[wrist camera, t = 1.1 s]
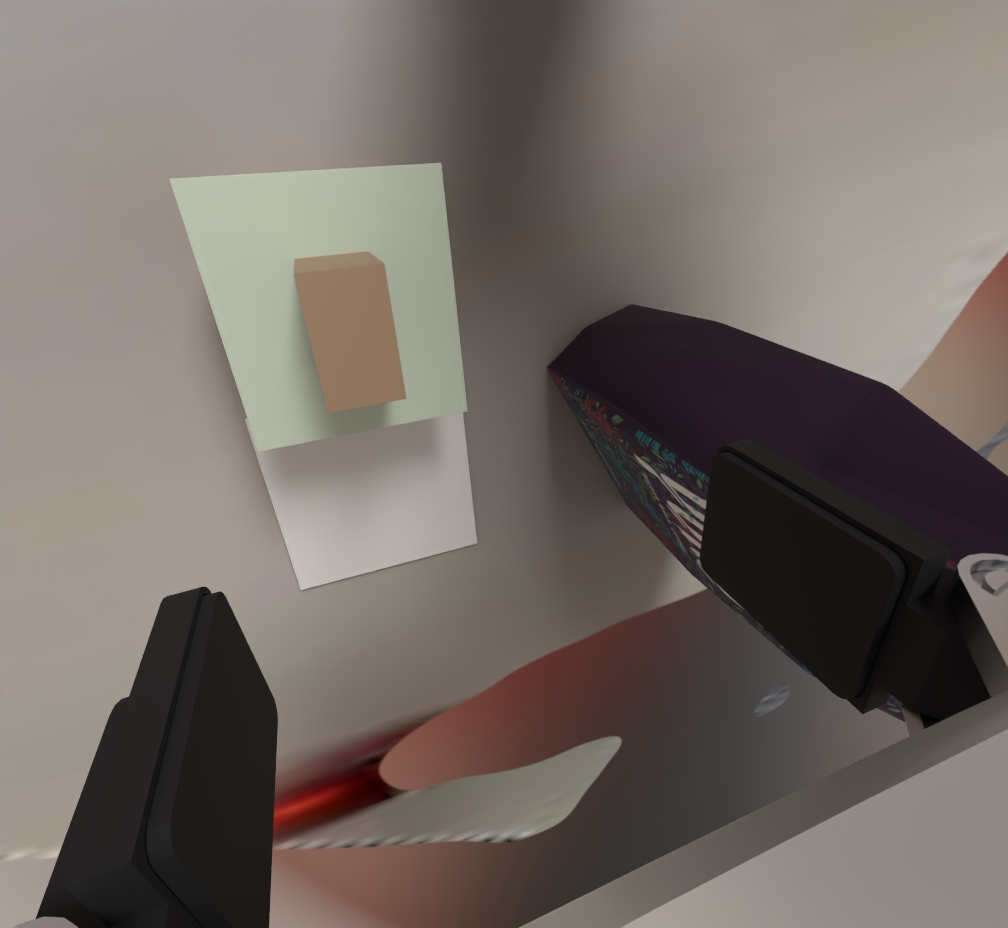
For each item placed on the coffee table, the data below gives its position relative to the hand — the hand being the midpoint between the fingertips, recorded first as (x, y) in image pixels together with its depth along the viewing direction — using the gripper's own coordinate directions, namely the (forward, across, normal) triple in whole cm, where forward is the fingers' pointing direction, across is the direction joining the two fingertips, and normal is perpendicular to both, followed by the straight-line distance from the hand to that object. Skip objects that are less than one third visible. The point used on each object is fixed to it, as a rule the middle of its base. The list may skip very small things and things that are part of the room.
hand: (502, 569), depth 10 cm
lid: (+19, +1, -2) cm, 19 cm away
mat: (+24, +2, +12) cm, 27 cm away
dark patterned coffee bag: (+25, -18, +10) cm, 32 cm away
